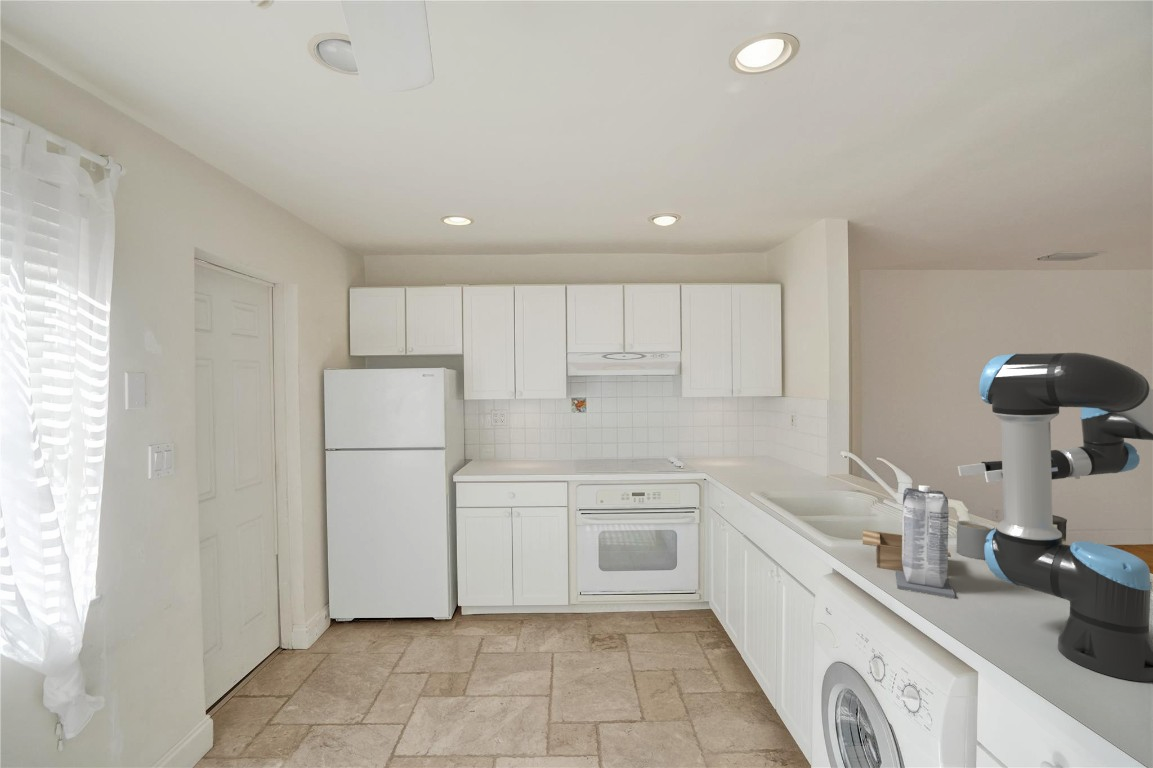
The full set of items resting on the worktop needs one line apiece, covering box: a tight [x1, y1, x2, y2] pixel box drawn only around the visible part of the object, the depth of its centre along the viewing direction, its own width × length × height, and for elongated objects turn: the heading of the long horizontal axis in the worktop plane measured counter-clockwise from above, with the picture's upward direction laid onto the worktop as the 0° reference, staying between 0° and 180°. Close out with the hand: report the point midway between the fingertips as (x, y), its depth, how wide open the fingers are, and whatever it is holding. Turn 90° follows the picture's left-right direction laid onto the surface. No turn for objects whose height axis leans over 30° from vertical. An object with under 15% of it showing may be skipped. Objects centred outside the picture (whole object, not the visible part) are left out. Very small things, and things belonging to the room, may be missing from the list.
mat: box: [895, 570, 956, 599], centre depth 149 cm, size 13×13×1 cm
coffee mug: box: [955, 520, 996, 561], centre depth 173 cm, size 13×10×10 cm
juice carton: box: [901, 484, 950, 588], centre depth 148 cm, size 9×10×27 cm
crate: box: [862, 529, 952, 571], centre depth 165 cm, size 16×23×7 cm
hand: (971, 474), depth 142 cm, fingers open, 13 cm apart
